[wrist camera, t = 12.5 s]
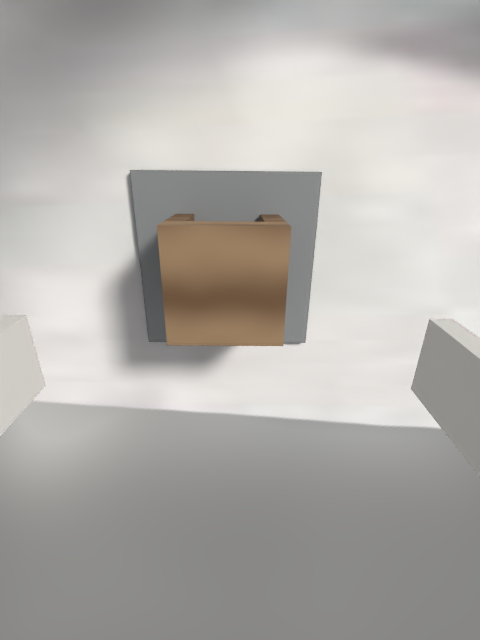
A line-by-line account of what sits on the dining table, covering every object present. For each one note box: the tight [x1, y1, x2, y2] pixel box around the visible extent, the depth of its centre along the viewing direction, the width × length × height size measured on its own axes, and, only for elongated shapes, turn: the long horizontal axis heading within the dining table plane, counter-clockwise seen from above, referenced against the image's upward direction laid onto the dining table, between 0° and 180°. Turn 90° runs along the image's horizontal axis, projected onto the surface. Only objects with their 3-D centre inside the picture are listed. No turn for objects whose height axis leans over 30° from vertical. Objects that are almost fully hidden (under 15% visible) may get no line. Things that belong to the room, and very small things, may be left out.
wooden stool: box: [157, 214, 291, 346], centre depth 28 cm, size 9×9×8 cm
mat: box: [130, 170, 322, 343], centre depth 31 cm, size 16×16×1 cm
